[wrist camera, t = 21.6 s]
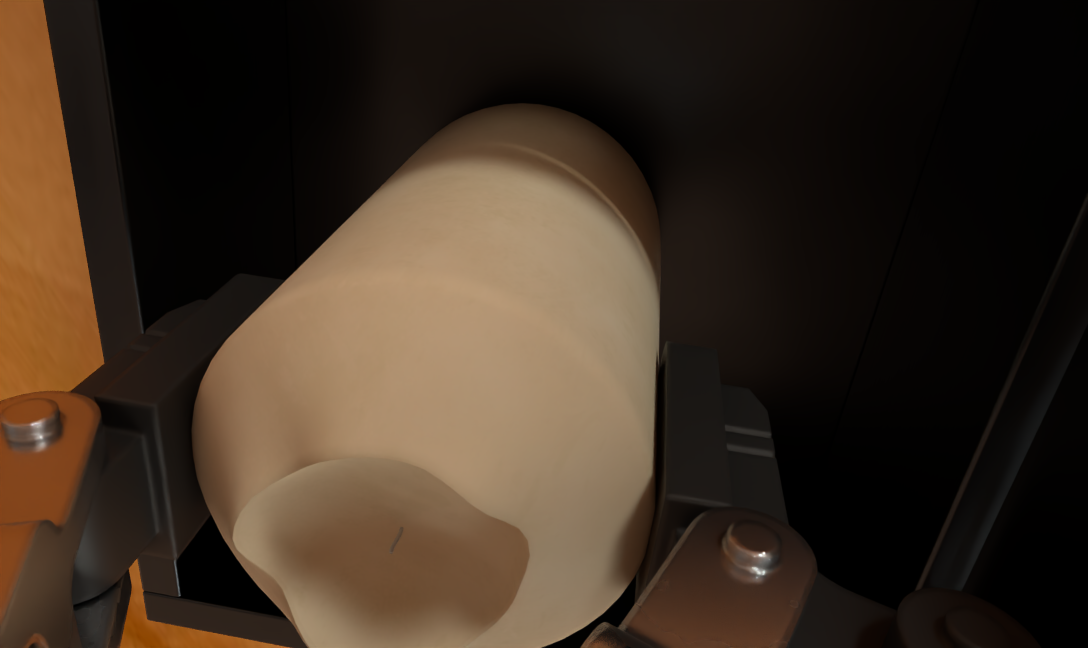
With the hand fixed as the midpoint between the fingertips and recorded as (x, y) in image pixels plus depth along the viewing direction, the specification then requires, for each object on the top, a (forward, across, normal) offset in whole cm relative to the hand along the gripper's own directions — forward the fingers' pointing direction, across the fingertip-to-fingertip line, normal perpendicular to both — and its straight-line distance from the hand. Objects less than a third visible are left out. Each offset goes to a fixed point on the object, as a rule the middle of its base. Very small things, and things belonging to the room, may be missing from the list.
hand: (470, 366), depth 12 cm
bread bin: (+7, -1, 0) cm, 7 cm away
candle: (+6, 0, 0) cm, 6 cm away
